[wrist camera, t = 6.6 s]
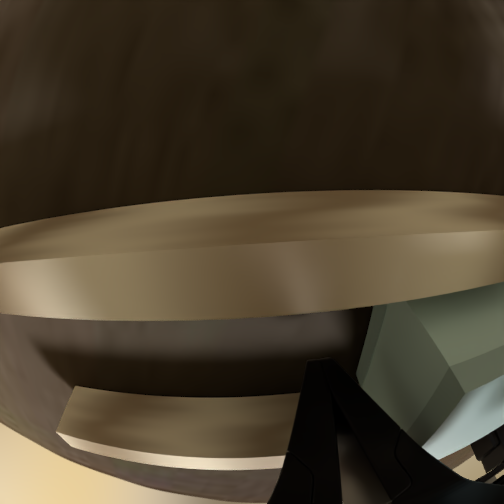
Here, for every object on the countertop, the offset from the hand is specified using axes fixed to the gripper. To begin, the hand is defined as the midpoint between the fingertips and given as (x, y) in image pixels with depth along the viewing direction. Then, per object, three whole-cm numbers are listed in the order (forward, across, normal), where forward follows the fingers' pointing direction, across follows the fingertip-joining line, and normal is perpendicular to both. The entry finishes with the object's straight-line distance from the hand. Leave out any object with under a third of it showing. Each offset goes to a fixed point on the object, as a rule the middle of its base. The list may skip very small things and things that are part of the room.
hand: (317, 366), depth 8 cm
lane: (+2, +1, 0) cm, 2 cm away
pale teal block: (+2, -5, 0) cm, 5 cm away
